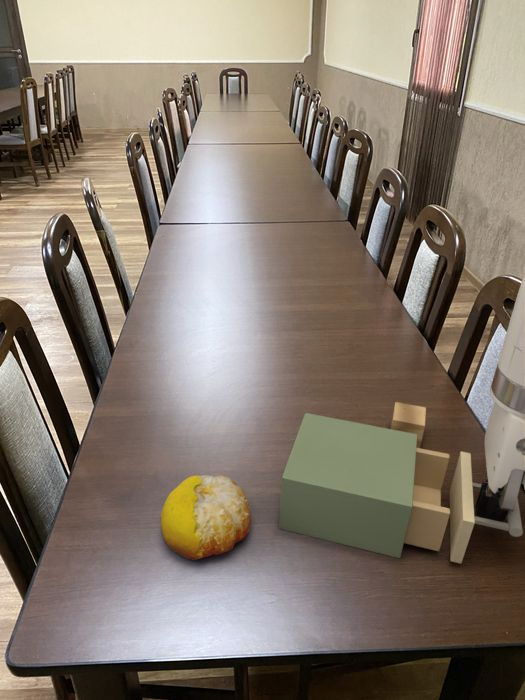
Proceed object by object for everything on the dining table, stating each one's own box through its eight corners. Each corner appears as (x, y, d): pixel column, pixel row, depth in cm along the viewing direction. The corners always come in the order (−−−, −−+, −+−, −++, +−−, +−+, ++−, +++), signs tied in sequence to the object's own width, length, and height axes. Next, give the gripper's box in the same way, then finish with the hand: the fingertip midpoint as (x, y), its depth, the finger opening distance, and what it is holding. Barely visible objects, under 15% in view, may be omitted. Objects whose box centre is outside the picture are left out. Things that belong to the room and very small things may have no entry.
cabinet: (406, 483, 73) (417, 434, 68) (400, 558, 62) (412, 506, 58) (301, 460, 76) (305, 412, 72) (278, 528, 66) (281, 477, 61)
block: (420, 430, 82) (426, 407, 80) (419, 449, 79) (425, 425, 76) (391, 425, 83) (395, 401, 81) (388, 443, 80) (393, 419, 77)
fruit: (232, 581, 59) (210, 528, 56) (156, 567, 64) (132, 517, 60) (270, 507, 68) (253, 458, 64) (201, 500, 73) (182, 453, 69)
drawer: (505, 502, 69) (519, 462, 65) (514, 576, 60) (532, 535, 56) (356, 470, 73) (361, 431, 70) (343, 535, 64) (349, 494, 61)
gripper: (590, 442, 47) (531, 575, 56) (560, 356, 59) (516, 477, 69) (499, 425, 49) (457, 557, 58) (488, 345, 61) (455, 465, 71)
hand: (489, 514), depth 63 cm, fingers closed
